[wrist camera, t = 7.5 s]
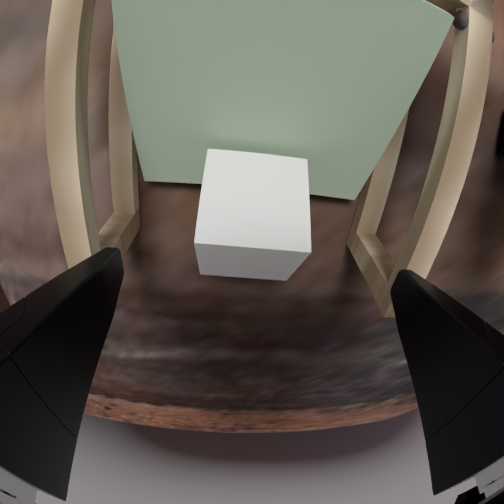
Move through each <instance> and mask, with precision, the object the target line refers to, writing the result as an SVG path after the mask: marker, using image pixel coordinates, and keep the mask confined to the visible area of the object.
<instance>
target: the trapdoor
mask: <svg viewBox="0 0 504 504" xmlns="http://www.w3.org/2000/svg"><path fill="white" fill-rule="evenodd" d="M112 10H113V19H114V28H115V36H116V43H117V50H118V56H119V63H120V69H121V75H122V81H123V86H124V92H125V97H126V102H127V107H128V112H129V117H130V122H131V126H132V131H133V136H134V140H135V144H136V149H137V153H138V157H139V161H140V165H141V169H142V173H143V177H144V181H156V182H177V183H194V184H202V181H203V175H204V168H205V162H206V156H207V150H208V149H219V150H231V151H242V152H253V153H262V154H271V155H279V156H287V157H294V158H302V159H307V164H308V180H309V194H313V195H321V196H328V197H336V198H343V199H350V200H355V199H356V197H357V195H358V194H359V192H360V191H361V189H362V187H363V186H364V184H365V182H366V181H367V179H368V178H369V176H370V174H371V173H372V171H373V169H374V168H375V166H376V164H377V163H378V161H379V159H380V158H381V156H382V154H383V153H384V151H385V149H386V147H387V146H388V144H389V142H390V141H391V139H392V137H393V135H394V134H395V132H396V130H397V128H398V127H399V125H400V123H401V121H402V120H403V118H404V116H405V114H406V112H407V111H408V109H409V107H410V105H411V103H412V102H413V100H414V98H415V96H416V94H417V92H418V90H419V89H420V87H421V85H422V83H423V81H424V79H425V77H426V75H427V73H428V71H429V69H430V67H431V65H432V64H433V62H434V60H435V58H436V56H437V54H438V52H439V50H440V47H441V45H442V43H443V41H444V39H445V37H446V35H447V33H448V31H449V29H450V27H451V24H452V22H453V20H454V18H455V17H453V16H452V15H451V14H449V13H448V12H446V11H445V10H443V9H441V8H440V7H438V6H436V5H434V4H432V3H430V2H428V1H426V0H112Z"/></svg>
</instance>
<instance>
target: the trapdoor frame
mask: <svg viewBox="0 0 504 504" xmlns="http://www.w3.org/2000/svg"><path fill="white" fill-rule="evenodd" d="M95 1H96V0H53V2H52V7H51V14H50V21H49V29H48V38H47V49H46V63H45V126H46V141H47V153H48V163H49V171H50V179H51V186H52V193H53V199H54V205H55V210H56V216H57V221H58V226H59V231H60V235H61V240H62V244H63V248H64V252H65V256H66V260H67V264H68V268H69V269H70V268H71V267H73V266H75V265H76V264H78V263H80V262H82V261H83V260H85V259H87V258H88V257H90V256H92V255H94V254H95V253H97V252H99V251H101V250H102V249H104V248H106V247H117V248H119V249H120V251H121V256H122V260H123V258H124V256H125V254H126V252H127V250H128V249H129V247H130V245H131V243H132V241H133V240H134V238H135V236H136V234H137V233H138V231H139V229H140V227H141V225H140V211H139V193H138V166H137V149H136V144H135V140H134V136H133V131H132V126H131V122H130V117H129V112H128V107H127V102H126V97H125V92H124V86H123V81H122V75H121V69H120V63H119V56H118V50H117V43H116V36H115V28H114V29H113V38H112V49H111V62H110V79H109V156H110V174H111V188H112V200H113V210H114V213H113V214H112V216H111V217H110V218H109V220H108V221H107V222H106V223H105V225H104V226H103V227H102V229H101V230H100V231H99V233H98V232H97V226H96V219H95V212H94V204H93V195H92V186H91V176H90V164H89V148H88V122H87V91H88V66H89V51H90V40H91V30H92V22H93V14H94V8H95ZM426 1H428V2H430V3H432V4H434V5H436V6H438V7H440V8H441V9H443V10H445V11H446V12H448V13H449V14H451V15H452V16H453V17H455V18H454V20H453V22H452V24H453V25H454V27H455V33H454V44H453V53H452V61H451V69H450V76H449V82H448V88H447V94H446V99H445V105H444V110H443V114H442V119H441V124H440V128H439V132H438V137H437V141H436V145H435V149H434V153H433V156H432V160H431V164H430V167H429V171H428V174H427V178H426V181H425V184H424V187H423V191H422V194H421V197H420V200H419V203H418V206H417V209H416V212H415V215H414V218H413V220H412V223H411V226H410V229H409V232H408V234H407V237H406V240H405V242H404V245H403V247H402V250H401V252H400V255H399V257H398V260H397V262H396V264H395V262H394V261H393V259H392V258H391V256H390V255H389V253H388V252H387V250H386V249H385V247H384V246H383V245H382V243H381V242H380V240H379V239H378V237H377V236H376V235H375V234H376V231H377V228H378V225H379V222H380V219H381V216H382V213H383V210H384V206H385V203H386V200H387V196H388V193H389V189H390V186H391V182H392V179H393V175H394V171H395V168H396V164H397V160H398V156H399V152H400V148H401V144H402V140H403V135H404V131H405V126H406V122H407V117H408V112H409V109H408V111H407V112H406V114H405V116H404V118H403V120H402V121H401V123H400V125H399V127H398V128H397V130H396V132H395V134H394V135H393V137H392V139H391V141H390V142H389V144H388V146H387V147H386V149H385V151H384V153H383V154H382V156H381V158H380V159H379V161H378V163H377V164H376V166H375V168H374V169H373V171H372V173H371V174H370V176H369V178H368V179H367V181H366V182H365V184H364V186H363V187H362V190H361V194H360V198H359V201H358V205H357V209H356V212H355V216H354V219H353V223H352V226H351V230H350V233H349V236H348V240H347V243H346V244H347V246H348V248H349V249H350V251H351V253H352V255H353V257H354V259H355V261H356V263H357V265H358V267H359V269H360V270H361V272H362V274H363V276H364V278H365V280H366V282H367V284H368V286H369V288H370V290H371V292H372V294H373V297H374V299H375V301H376V303H377V305H378V307H379V309H380V311H381V313H382V315H383V318H388V317H395V313H394V309H393V304H392V300H391V296H390V290H391V287H392V285H393V282H394V280H395V278H396V276H397V273H398V272H399V271H400V270H401V269H407V270H412V271H413V272H415V273H416V274H418V275H419V276H421V277H422V278H424V279H426V277H427V275H428V273H429V270H430V268H431V266H432V264H433V262H434V260H435V257H436V255H437V253H438V251H439V248H440V246H441V244H442V241H443V239H444V236H445V234H446V231H447V229H448V226H449V224H450V221H451V219H452V216H453V213H454V211H455V208H456V205H457V202H458V200H459V197H460V194H461V191H462V188H463V185H464V182H465V178H466V175H467V172H468V169H469V165H470V162H471V158H472V154H473V151H474V147H475V143H476V139H477V135H478V131H479V126H480V122H481V117H482V112H483V107H484V101H485V96H486V90H487V83H488V76H489V68H490V58H491V47H492V43H493V41H494V33H493V31H492V30H493V0H426Z"/></svg>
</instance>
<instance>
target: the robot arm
mask: <svg viewBox="0 0 504 504" xmlns="http://www.w3.org/2000/svg"><path fill="white" fill-rule="evenodd" d="M497 155H498V157H499V158H501V159H502V160H504V126H503V130H502V135H501V139H500V143H499V147H498V151H497ZM123 275H124V269H123V263H122V256H121V251H120V249H119V248H117V247H106V248H104V249H102V250H101V251H99V252H97V253H95V254H94V255H92V256H90V257H88V258H87V259H85V260H83V261H82V262H80V263H78V264H76V265H75V266H73V267H71V268H70V269H68V270H66V271H65V272H63V273H62V274H60V275H58V276H57V277H55V278H53V279H52V280H50V281H49V282H47V283H45V284H44V285H42V286H41V287H39V288H38V289H36V290H34V291H33V292H31V293H30V294H28V295H27V296H26V298H25V297H24V298H22V299H21V300H19V301H18V302H16V303H15V304H13V305H11V306H10V307H8V308H7V309H5V310H4V311H2V312H0V504H35V499H36V493H37V490H39V491H42V492H44V493H46V494H49V495H51V496H53V497H56V498H58V499H61V500H63V501H66V497H67V491H68V485H69V479H70V473H71V467H72V462H73V457H74V452H75V447H76V443H77V437H78V433H79V429H80V425H81V421H82V417H83V413H84V409H85V405H86V401H87V398H88V394H89V390H90V387H91V384H92V380H93V377H94V373H95V370H96V367H97V364H98V360H99V357H100V354H101V351H102V348H103V345H104V342H105V339H106V336H107V333H108V330H109V328H110V325H111V322H112V319H113V315H114V311H115V307H116V303H117V299H118V295H119V291H120V287H121V284H122V280H123ZM390 296H391V300H392V304H393V309H394V313H395V318H396V323H397V327H398V332H399V335H400V339H401V342H402V346H403V349H404V352H405V356H406V359H407V363H408V367H409V370H410V374H411V378H412V382H413V386H414V390H415V394H416V398H417V403H418V407H419V411H420V416H421V421H422V426H423V431H424V436H425V440H426V441H425V442H426V448H427V454H428V460H429V466H430V474H431V481H432V489H433V494H434V495H437V494H439V493H441V492H444V491H446V490H448V489H450V488H452V487H455V486H456V485H459V484H461V483H463V482H465V481H467V480H469V479H471V478H473V477H475V479H476V483H477V486H475V487H473V488H472V489H470V490H468V491H466V492H464V493H462V494H460V495H458V497H457V499H456V502H455V504H504V335H503V334H501V333H500V332H499V331H497V330H496V329H495V328H493V327H492V326H491V325H489V324H488V323H487V322H484V320H482V319H481V318H480V317H478V316H477V315H476V314H474V313H473V312H472V311H470V310H469V309H467V308H466V307H465V306H463V305H462V304H460V303H459V302H458V301H456V300H455V299H453V298H452V297H450V296H449V295H448V294H446V293H445V292H443V291H442V290H440V289H439V288H437V287H436V286H434V285H433V284H431V283H430V282H428V281H427V280H425V279H424V278H422V277H421V276H419V275H418V274H416V273H415V272H413V271H412V270H407V269H401V270H400V271H399V272H398V273H397V276H396V278H395V280H394V282H393V285H392V287H391V290H390Z"/></svg>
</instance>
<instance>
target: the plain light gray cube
mask: <svg viewBox="0 0 504 504" xmlns="http://www.w3.org/2000/svg"><path fill="white" fill-rule="evenodd" d="M194 245H195V250H196V255H197V260H198V265H199V270H200V274H203V275H215V276H228V277H241V278H254V279H268V280H283V281H287V279H288V278H289V277H290V276H291V275H292V274H293V273H294V272H295V270H296V269H297V268H298V267H299V266H300V265H301V264H302V263H303V261H304V260H305V259H306V258H307V257H308V256H309V255H310V253H311V226H310V200H309V180H308V164H307V159H302V158H294V157H287V156H279V155H271V154H262V153H253V152H242V151H231V150H219V149H208V150H207V156H206V162H205V168H204V175H203V181H202V188H201V195H200V202H199V209H198V216H197V224H196V232H195V240H194Z"/></svg>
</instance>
